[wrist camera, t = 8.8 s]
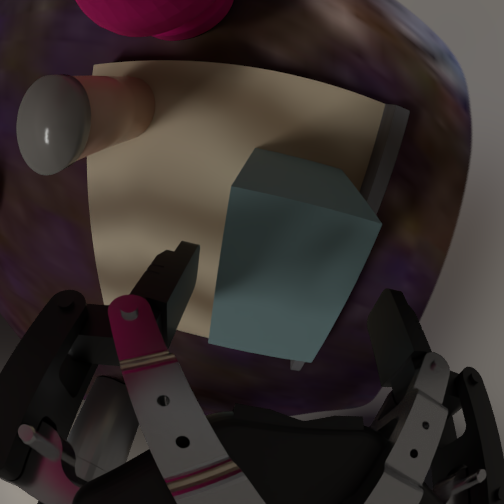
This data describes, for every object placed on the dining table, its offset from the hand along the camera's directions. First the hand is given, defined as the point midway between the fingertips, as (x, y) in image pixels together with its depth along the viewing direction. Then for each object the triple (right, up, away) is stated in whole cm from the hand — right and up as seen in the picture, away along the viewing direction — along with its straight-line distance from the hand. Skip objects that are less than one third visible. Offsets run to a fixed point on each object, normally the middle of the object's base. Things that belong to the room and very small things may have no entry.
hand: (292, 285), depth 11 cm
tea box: (0, +3, +5) cm, 6 cm away
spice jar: (-9, +10, +2) cm, 13 cm away
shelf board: (-4, +3, +7) cm, 9 cm away
